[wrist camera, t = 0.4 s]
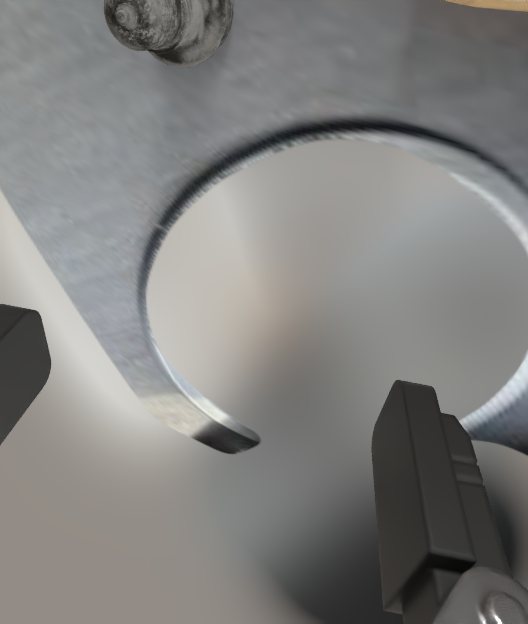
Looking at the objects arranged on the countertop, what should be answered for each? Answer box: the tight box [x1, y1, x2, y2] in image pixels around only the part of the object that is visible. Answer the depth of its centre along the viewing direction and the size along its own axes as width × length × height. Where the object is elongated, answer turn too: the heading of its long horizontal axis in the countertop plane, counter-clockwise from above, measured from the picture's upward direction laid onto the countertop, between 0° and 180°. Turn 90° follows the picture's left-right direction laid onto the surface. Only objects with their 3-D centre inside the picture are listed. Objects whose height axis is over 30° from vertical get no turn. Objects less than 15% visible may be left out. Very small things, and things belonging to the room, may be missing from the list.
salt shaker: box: [104, 0, 233, 67], centre depth 23 cm, size 6×6×12 cm
